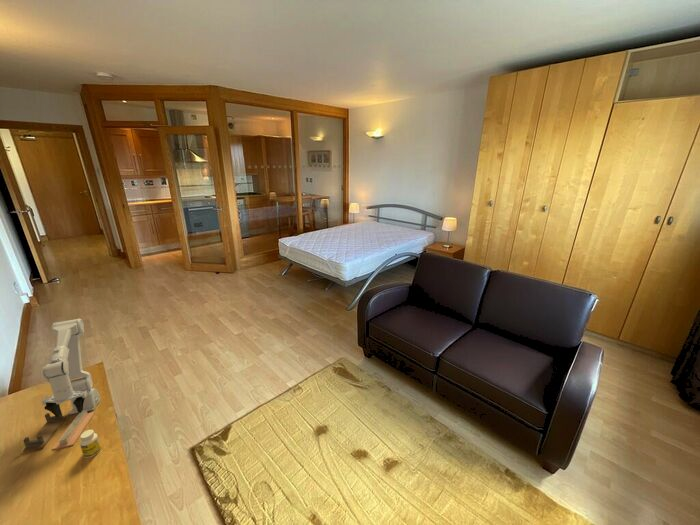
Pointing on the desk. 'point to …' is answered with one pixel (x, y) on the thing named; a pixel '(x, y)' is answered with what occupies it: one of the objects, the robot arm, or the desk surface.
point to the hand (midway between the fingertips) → (70, 413)
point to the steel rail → (73, 428)
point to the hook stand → (44, 433)
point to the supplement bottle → (89, 443)
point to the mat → (75, 433)
